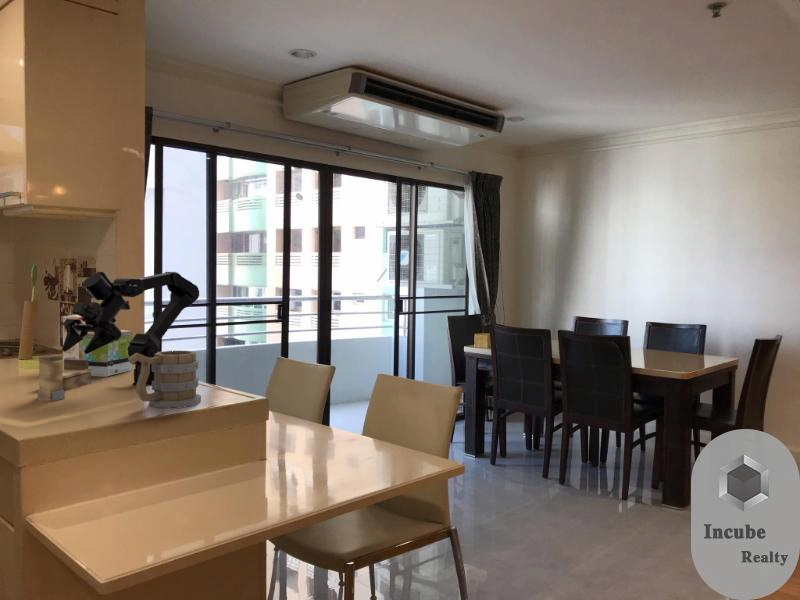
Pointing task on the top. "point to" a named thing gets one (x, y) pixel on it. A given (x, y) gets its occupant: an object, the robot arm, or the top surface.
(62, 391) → the grey rounded piece
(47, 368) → the wooden block
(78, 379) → the open wooden box
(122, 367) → the tea box
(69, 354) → the coffeecake box
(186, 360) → the tankard
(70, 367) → the lid
